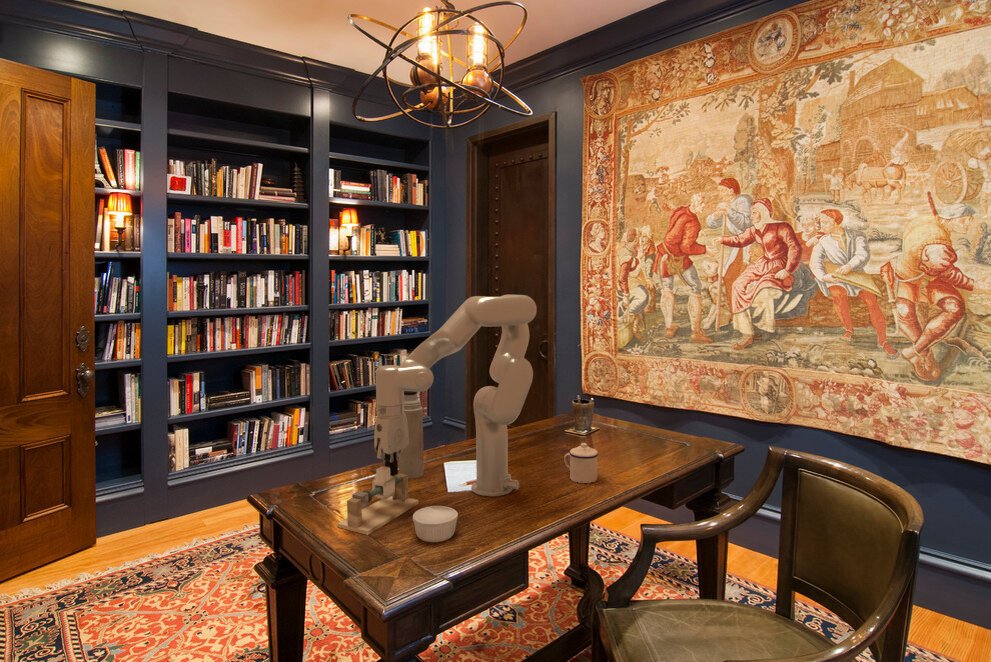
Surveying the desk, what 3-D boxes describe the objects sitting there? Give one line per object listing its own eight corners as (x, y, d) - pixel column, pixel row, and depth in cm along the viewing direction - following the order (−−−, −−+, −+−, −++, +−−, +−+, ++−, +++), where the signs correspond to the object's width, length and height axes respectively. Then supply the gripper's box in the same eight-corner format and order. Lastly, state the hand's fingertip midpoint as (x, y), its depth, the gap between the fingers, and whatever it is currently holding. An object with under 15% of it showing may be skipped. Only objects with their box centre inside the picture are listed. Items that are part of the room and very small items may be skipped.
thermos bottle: (426, 471, 184) (425, 388, 181) (418, 479, 176) (417, 393, 173) (404, 469, 185) (402, 388, 183) (395, 477, 177) (393, 392, 175)
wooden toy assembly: (390, 497, 161) (389, 469, 160) (418, 503, 156) (417, 474, 156) (337, 527, 141) (336, 495, 141) (367, 535, 137) (366, 501, 136)
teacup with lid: (603, 478, 175) (603, 443, 174) (587, 486, 169) (587, 449, 168) (572, 470, 184) (573, 436, 183) (556, 477, 177) (556, 442, 176)
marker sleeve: (381, 491, 153) (381, 465, 152) (395, 494, 151) (394, 467, 150) (372, 496, 149) (371, 469, 149) (386, 499, 147) (385, 471, 147)
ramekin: (462, 526, 142) (462, 506, 141) (452, 546, 131) (451, 525, 130) (420, 523, 144) (420, 504, 143) (407, 543, 133) (406, 522, 132)
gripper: (383, 417, 143) (385, 485, 145) (417, 406, 156) (418, 468, 158) (361, 414, 147) (363, 480, 148) (396, 403, 160) (397, 464, 161)
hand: (391, 474), depth 153 cm, fingers closed
